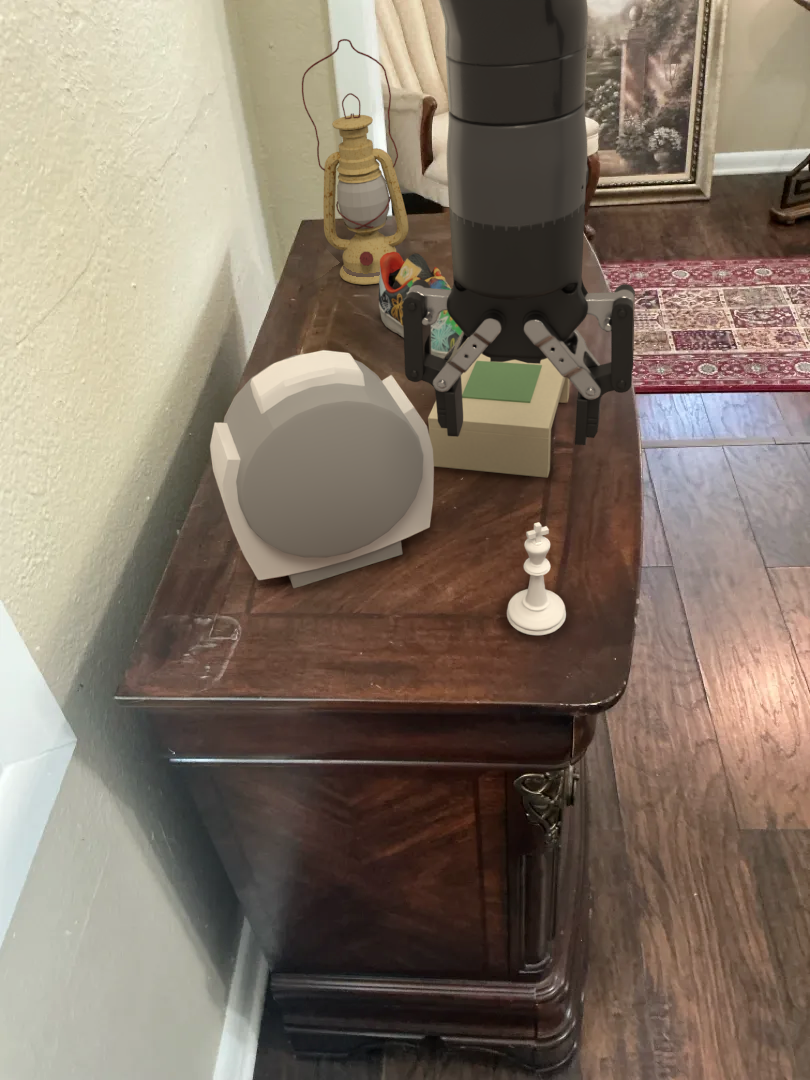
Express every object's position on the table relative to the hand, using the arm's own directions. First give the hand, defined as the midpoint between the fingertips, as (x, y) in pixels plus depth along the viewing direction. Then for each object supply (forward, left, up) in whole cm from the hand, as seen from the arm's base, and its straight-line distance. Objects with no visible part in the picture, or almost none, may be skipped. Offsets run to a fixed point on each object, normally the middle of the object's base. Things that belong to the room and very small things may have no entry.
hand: (517, 434), depth 58 cm
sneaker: (+19, -46, -20) cm, 53 cm away
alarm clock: (+18, -6, -20) cm, 28 cm away
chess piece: (-1, -2, -20) cm, 20 cm away
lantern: (+34, -64, -20) cm, 75 cm away
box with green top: (+7, -28, -20) cm, 35 cm away
